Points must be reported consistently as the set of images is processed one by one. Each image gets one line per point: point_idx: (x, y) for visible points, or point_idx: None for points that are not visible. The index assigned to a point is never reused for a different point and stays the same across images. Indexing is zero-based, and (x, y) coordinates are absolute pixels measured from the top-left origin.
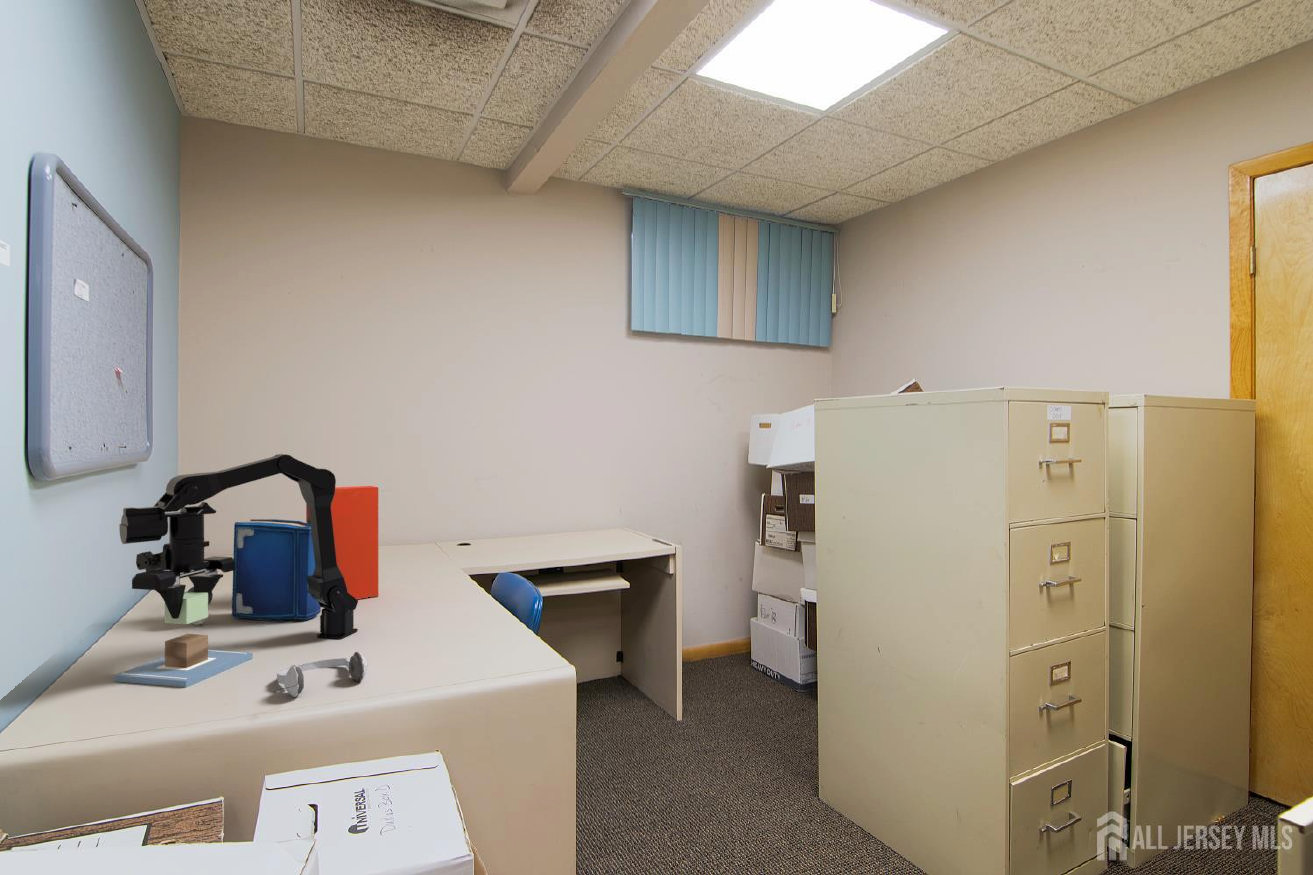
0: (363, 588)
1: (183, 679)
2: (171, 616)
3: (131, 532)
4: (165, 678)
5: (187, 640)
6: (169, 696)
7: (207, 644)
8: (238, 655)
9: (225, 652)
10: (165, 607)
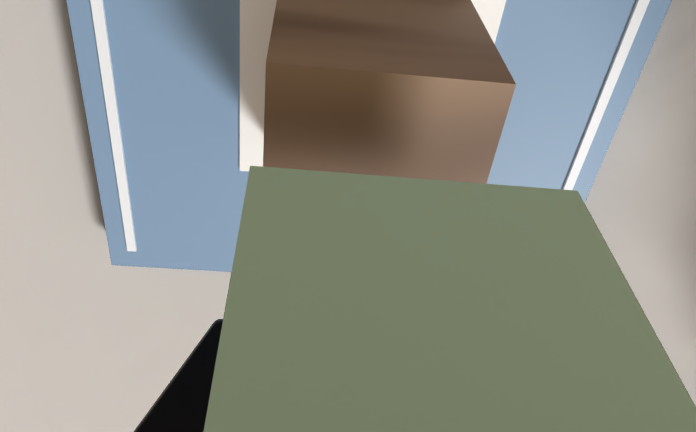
0: None
1: (123, 242)
2: (206, 333)
3: None
4: (104, 147)
5: None
6: (9, 249)
7: None
8: None
9: (572, 163)
10: (225, 328)
